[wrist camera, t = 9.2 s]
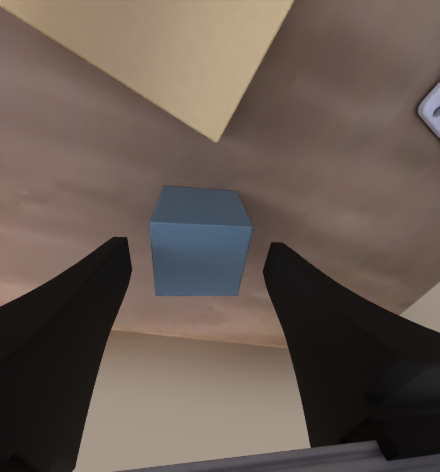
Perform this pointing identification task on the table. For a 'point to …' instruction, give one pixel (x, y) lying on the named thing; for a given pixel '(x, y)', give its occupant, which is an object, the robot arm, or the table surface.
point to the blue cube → (199, 242)
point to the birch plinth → (167, 48)
